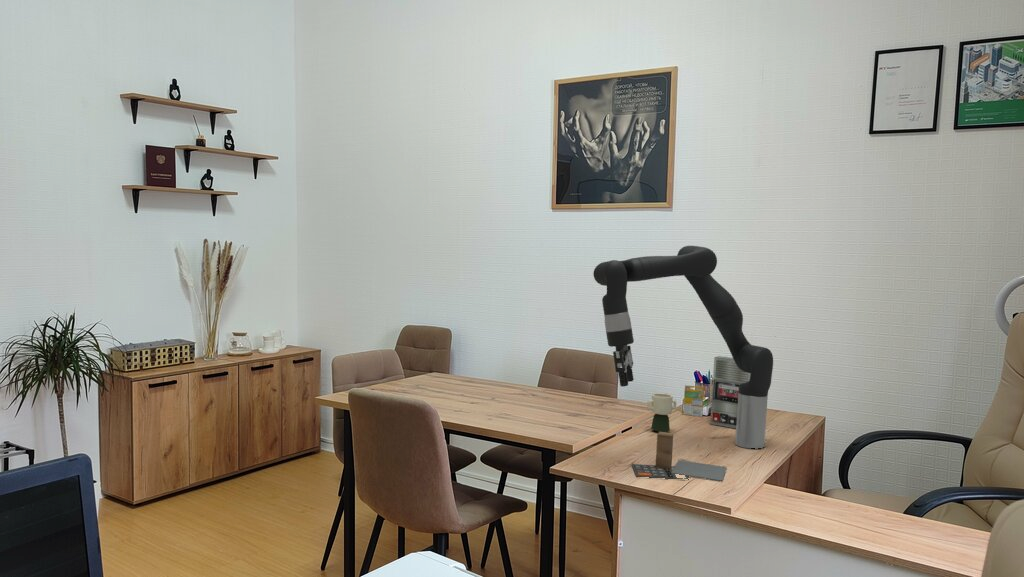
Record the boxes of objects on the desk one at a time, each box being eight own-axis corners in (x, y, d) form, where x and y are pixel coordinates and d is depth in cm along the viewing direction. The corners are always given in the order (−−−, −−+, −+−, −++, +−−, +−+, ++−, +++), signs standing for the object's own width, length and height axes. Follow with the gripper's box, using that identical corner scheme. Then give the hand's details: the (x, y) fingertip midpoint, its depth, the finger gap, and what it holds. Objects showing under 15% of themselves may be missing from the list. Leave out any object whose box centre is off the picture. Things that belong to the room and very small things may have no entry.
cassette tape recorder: (709, 424, 268) (713, 357, 267) (714, 421, 273) (718, 356, 272) (746, 431, 260) (751, 362, 259) (751, 428, 265) (756, 360, 264)
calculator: (631, 463, 212) (683, 466, 212) (631, 466, 212) (682, 469, 212) (636, 475, 201) (691, 478, 200) (636, 478, 201) (690, 482, 200)
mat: (678, 461, 218) (678, 460, 218) (726, 468, 213) (726, 466, 213) (671, 474, 205) (671, 472, 205) (722, 481, 200) (722, 480, 200)
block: (657, 465, 213) (659, 431, 213) (671, 467, 212) (673, 433, 212) (655, 468, 210) (657, 434, 209) (669, 470, 208) (671, 436, 208)
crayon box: (702, 415, 284) (704, 385, 283) (702, 416, 281) (704, 387, 280) (683, 413, 285) (684, 384, 285) (683, 414, 283) (684, 385, 282)
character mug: (670, 428, 259) (672, 392, 258) (679, 434, 252) (681, 397, 251) (641, 429, 256) (643, 392, 255) (650, 434, 249) (652, 397, 248)
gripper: (626, 329, 204) (635, 386, 203) (635, 324, 217) (644, 378, 217) (600, 332, 206) (609, 389, 206) (611, 328, 219) (619, 381, 219)
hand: (627, 383), depth 211 cm, fingers open, 8 cm apart
